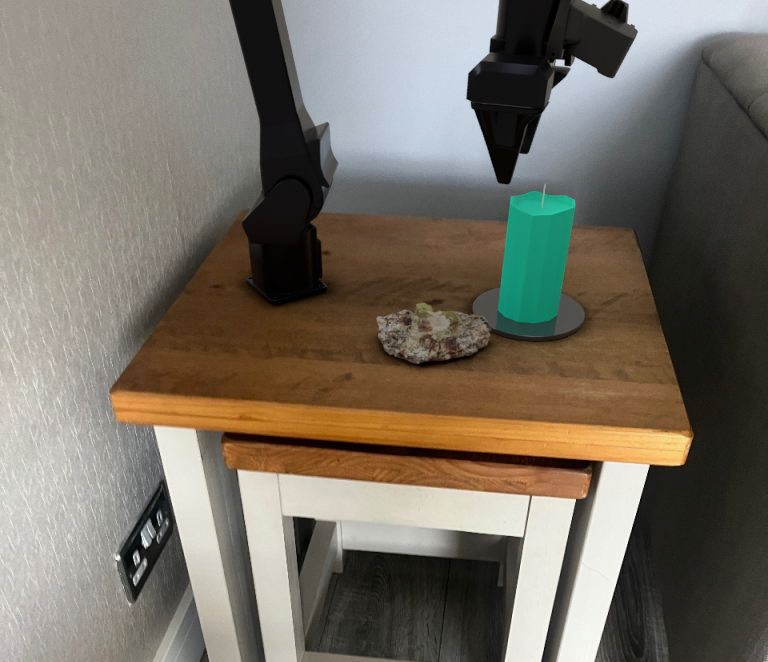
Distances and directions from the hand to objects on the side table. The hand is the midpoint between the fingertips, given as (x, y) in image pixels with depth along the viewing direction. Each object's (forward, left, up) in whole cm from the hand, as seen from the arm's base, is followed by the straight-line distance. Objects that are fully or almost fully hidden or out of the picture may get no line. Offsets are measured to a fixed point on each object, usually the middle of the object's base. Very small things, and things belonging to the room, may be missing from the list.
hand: (513, 167), depth 72 cm
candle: (0, -4, -13) cm, 13 cm away
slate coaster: (0, -4, -13) cm, 13 cm away
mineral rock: (-11, -4, -13) cm, 18 cm away
